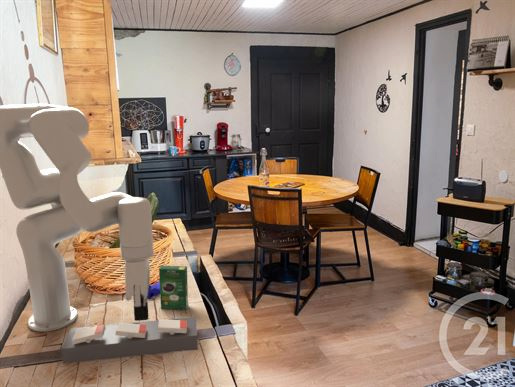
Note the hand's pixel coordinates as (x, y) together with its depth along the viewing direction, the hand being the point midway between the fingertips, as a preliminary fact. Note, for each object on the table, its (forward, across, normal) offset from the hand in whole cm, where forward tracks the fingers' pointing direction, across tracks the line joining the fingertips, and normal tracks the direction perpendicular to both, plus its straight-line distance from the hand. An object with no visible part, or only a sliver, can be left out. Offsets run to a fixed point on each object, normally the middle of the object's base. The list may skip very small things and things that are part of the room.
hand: (141, 318), depth 107 cm
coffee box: (+9, -19, +8) cm, 23 cm away
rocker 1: (+4, 0, -12) cm, 13 cm away
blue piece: (+9, -32, +2) cm, 33 cm away
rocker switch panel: (+8, -1, -2) cm, 9 cm away
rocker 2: (+4, 0, -3) cm, 5 cm away
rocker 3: (+4, 0, +7) cm, 8 cm away
